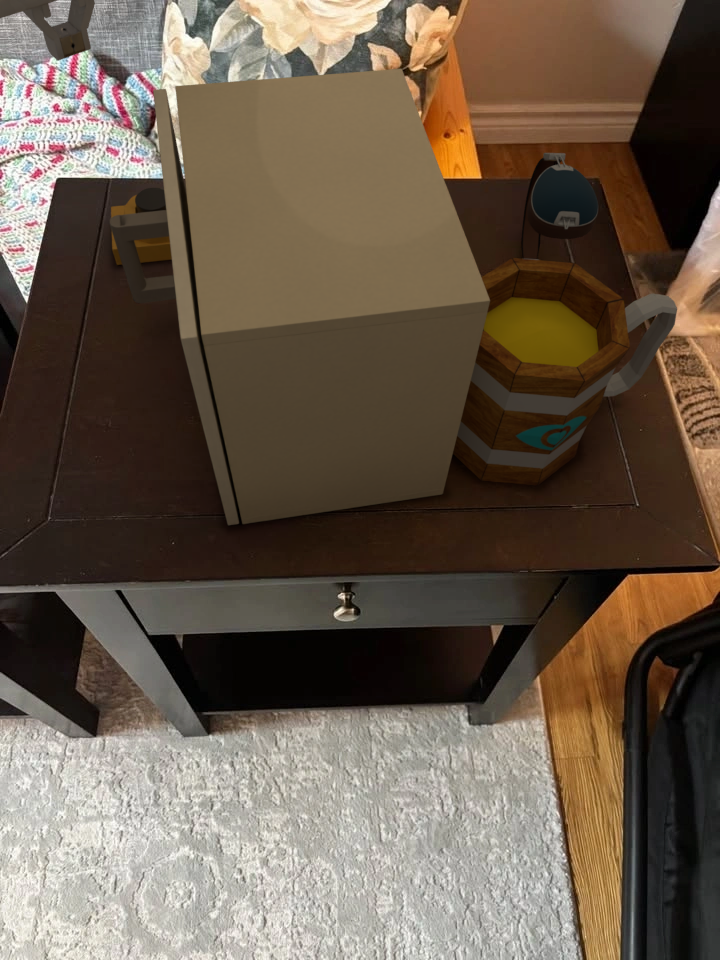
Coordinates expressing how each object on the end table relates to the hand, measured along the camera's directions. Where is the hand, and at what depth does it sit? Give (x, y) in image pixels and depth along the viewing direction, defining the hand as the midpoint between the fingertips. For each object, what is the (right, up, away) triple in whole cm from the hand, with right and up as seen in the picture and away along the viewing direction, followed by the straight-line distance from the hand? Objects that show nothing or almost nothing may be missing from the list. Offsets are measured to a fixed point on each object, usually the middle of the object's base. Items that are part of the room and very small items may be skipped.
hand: (70, 52), depth 61 cm
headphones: (+42, -16, +20) cm, 49 cm away
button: (+1, -6, +20) cm, 21 cm away
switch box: (+1, -8, +23) cm, 24 cm away
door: (+7, -28, +11) cm, 31 cm away
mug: (+40, -29, +12) cm, 51 cm away
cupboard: (+20, -26, +12) cm, 35 cm away
